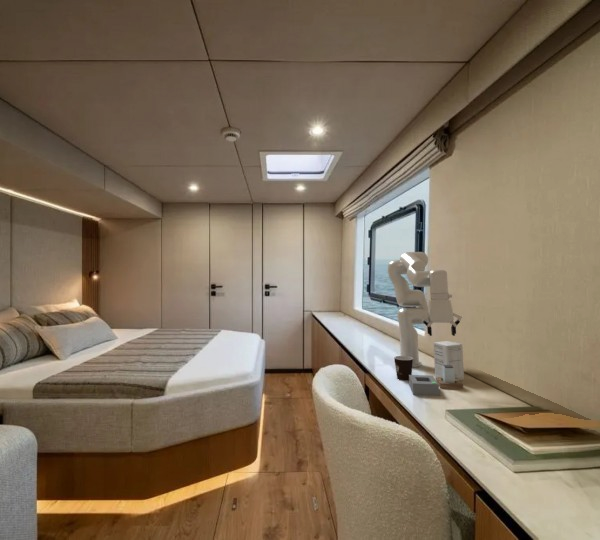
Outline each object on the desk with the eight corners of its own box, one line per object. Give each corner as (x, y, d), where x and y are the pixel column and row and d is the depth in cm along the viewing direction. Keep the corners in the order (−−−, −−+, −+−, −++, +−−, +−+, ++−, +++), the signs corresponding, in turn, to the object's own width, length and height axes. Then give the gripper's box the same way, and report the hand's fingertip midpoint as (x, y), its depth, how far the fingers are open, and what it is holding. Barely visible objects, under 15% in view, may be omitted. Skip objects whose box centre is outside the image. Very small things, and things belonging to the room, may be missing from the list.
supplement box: (450, 374, 158) (449, 340, 159) (464, 380, 149) (463, 343, 150) (434, 376, 156) (432, 341, 156) (447, 382, 147) (446, 345, 147)
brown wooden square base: (435, 382, 147) (435, 377, 147) (457, 383, 145) (456, 378, 145) (440, 389, 138) (440, 383, 138) (462, 390, 136) (462, 384, 136)
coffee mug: (415, 382, 148) (414, 360, 149) (395, 381, 150) (394, 359, 150) (411, 374, 160) (410, 354, 160) (393, 374, 161) (392, 354, 162)
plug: (442, 383, 144) (442, 364, 144) (452, 384, 143) (451, 364, 143) (445, 386, 140) (444, 366, 140) (454, 386, 139) (454, 367, 139)
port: (409, 386, 143) (408, 373, 143) (433, 387, 141) (432, 374, 141) (413, 395, 131) (412, 382, 131) (439, 396, 129) (438, 383, 129)
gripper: (457, 296, 147) (460, 334, 145) (418, 297, 150) (420, 334, 149) (462, 296, 139) (465, 336, 138) (420, 297, 143) (422, 336, 142)
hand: (441, 335), depth 144 cm, fingers open, 9 cm apart
